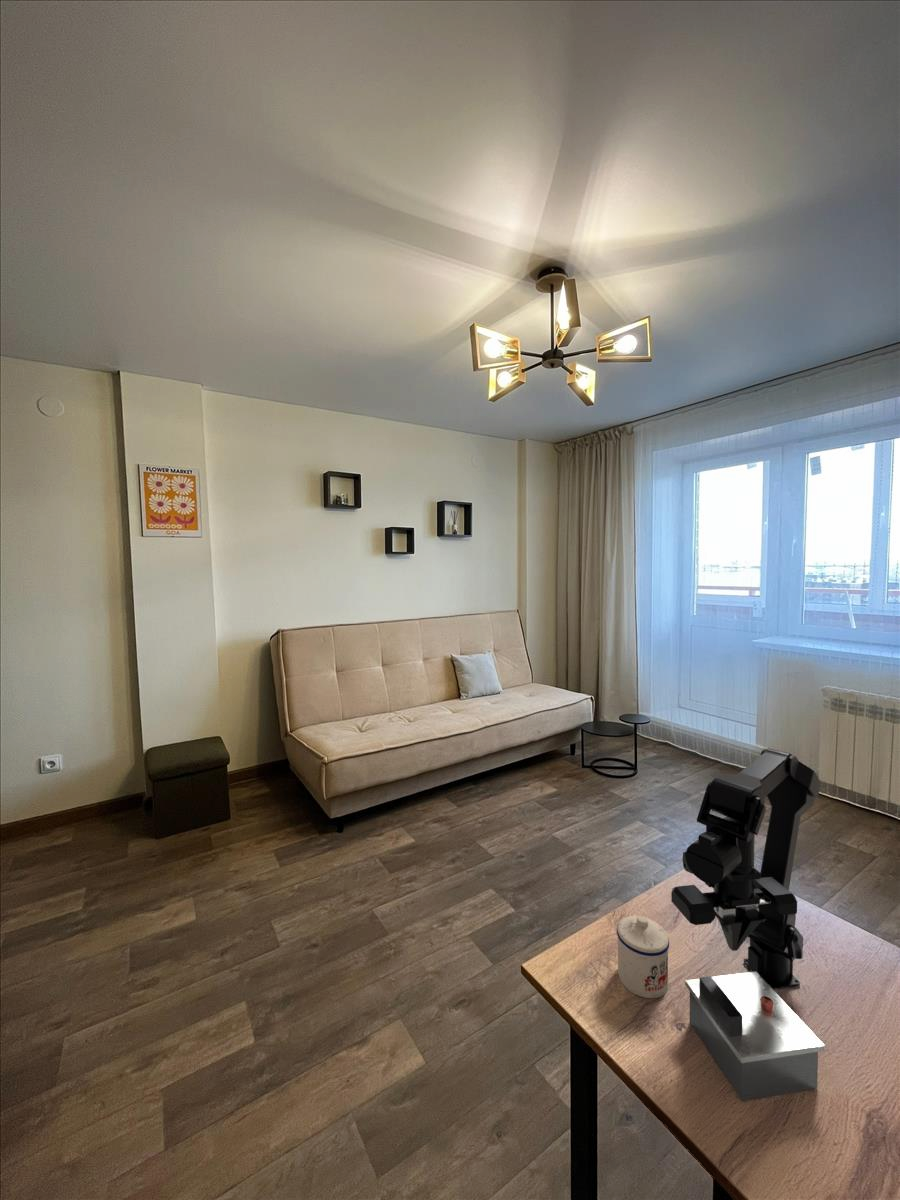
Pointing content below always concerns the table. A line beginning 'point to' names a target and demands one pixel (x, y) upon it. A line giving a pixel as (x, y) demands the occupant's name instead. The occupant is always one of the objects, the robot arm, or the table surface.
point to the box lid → (752, 1017)
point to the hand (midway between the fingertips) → (732, 948)
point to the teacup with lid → (643, 956)
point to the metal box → (755, 1064)
